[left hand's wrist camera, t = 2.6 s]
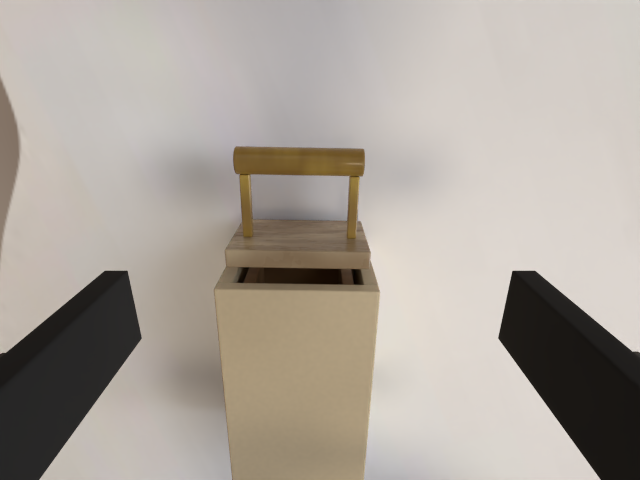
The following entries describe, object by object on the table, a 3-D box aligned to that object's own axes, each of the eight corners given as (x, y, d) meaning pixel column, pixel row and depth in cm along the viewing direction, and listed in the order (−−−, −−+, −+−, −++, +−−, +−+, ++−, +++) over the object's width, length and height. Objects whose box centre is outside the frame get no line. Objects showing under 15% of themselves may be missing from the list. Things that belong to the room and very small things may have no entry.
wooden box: (239, 241, 30) (213, 289, 23) (365, 243, 30) (380, 291, 23) (250, 413, 37) (233, 494, 29) (353, 415, 37) (362, 496, 29)
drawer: (238, 139, 26) (216, 152, 21) (365, 142, 26) (378, 155, 21) (253, 393, 34) (240, 452, 29) (350, 395, 35) (356, 453, 29)
